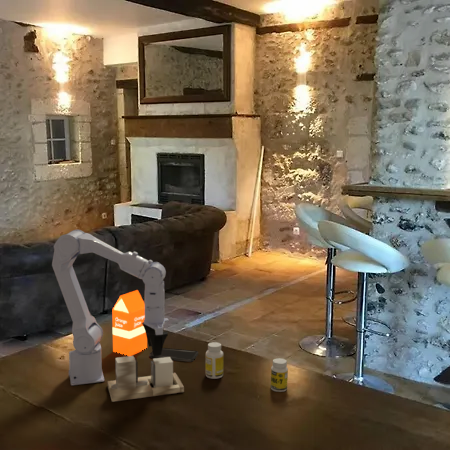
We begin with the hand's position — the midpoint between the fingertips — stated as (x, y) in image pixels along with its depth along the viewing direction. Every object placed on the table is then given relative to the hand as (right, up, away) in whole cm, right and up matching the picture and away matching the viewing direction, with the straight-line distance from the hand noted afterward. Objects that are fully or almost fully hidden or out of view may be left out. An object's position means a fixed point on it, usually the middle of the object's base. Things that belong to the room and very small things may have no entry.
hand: (154, 350), depth 159 cm
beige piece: (-2, -10, -4) cm, 11 cm away
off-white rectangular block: (+3, -10, -3) cm, 10 cm away
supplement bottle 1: (+17, -9, +6) cm, 20 cm away
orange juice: (-11, -6, +25) cm, 28 cm away
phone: (+4, -7, +21) cm, 22 cm away
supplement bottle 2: (+36, -11, -3) cm, 38 cm away
